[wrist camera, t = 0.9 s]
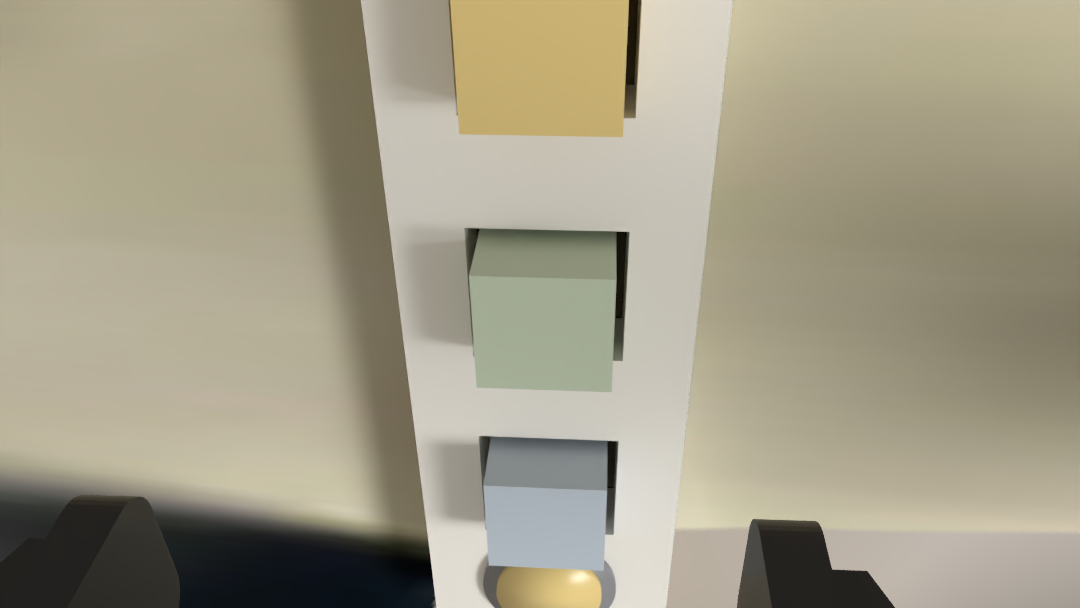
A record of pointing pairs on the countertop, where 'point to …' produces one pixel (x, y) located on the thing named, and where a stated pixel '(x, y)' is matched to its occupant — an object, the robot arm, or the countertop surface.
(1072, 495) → the countertop surface
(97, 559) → the robot arm
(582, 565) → the slate button
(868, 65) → the countertop surface
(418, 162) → the button panel
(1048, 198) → the countertop surface
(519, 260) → the sage button
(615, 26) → the ochre button
